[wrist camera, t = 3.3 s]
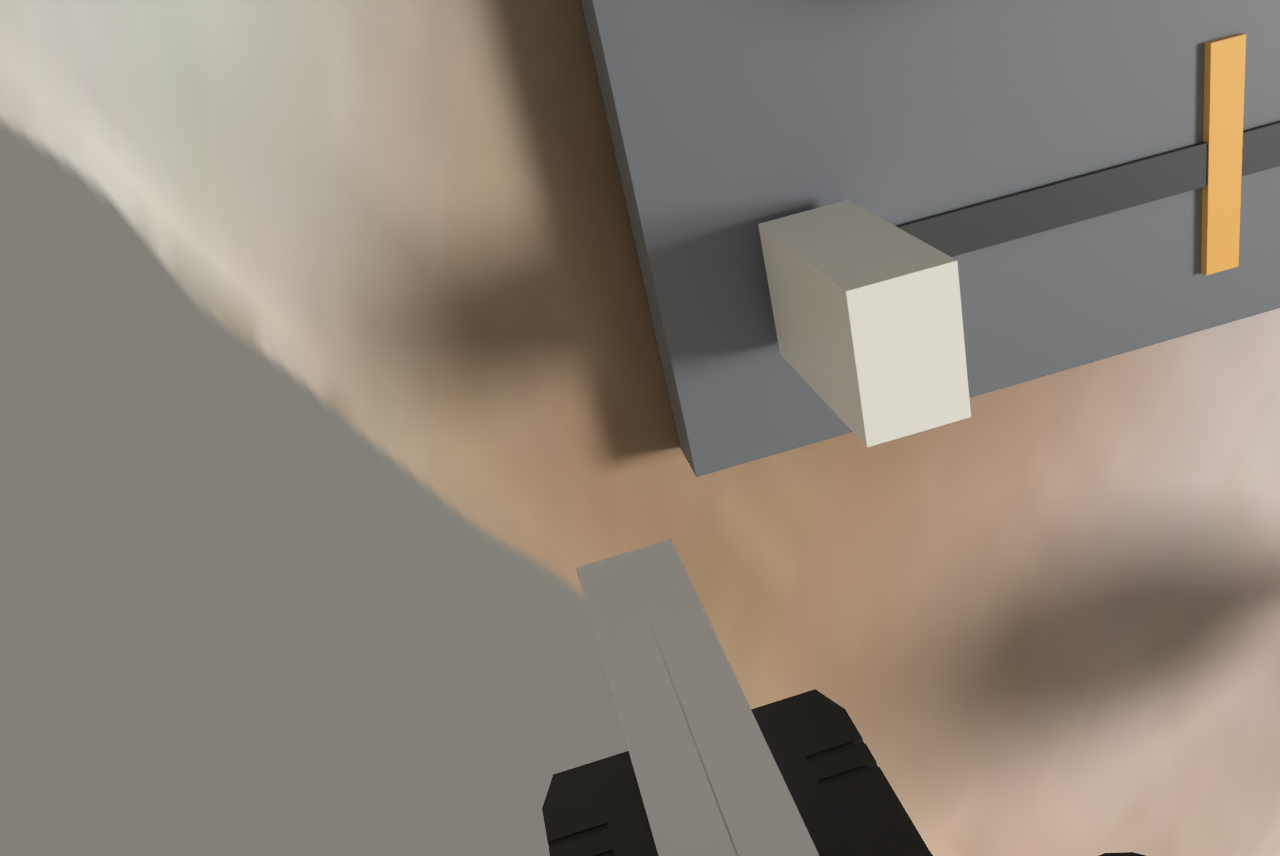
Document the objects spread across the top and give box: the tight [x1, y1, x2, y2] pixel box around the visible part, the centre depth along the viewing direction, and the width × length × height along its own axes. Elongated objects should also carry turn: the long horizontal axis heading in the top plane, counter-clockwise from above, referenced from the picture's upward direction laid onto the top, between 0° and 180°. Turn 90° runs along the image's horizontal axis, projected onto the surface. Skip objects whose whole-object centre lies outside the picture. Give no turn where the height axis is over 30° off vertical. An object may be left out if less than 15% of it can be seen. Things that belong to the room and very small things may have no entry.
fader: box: [758, 200, 971, 447], centre depth 25 cm, size 4×2×6 cm, turn 12°
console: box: [581, 0, 1280, 477], centre depth 27 cm, size 18×25×4 cm
